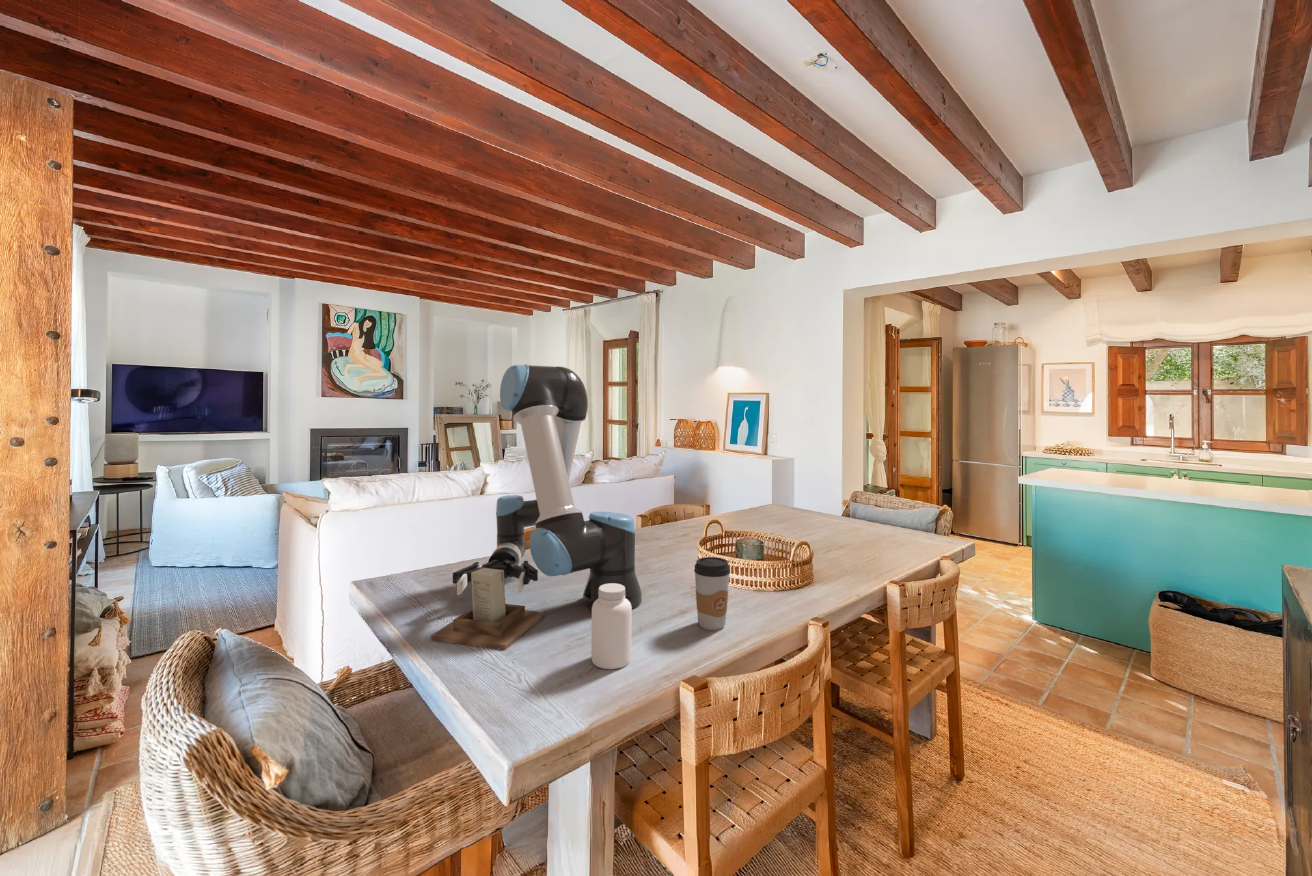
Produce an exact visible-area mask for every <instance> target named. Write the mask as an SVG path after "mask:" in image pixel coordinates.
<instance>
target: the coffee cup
mask: <svg viewBox="0 0 1312 876" xmlns="http://www.w3.org/2000/svg"><path fill="white" fill-rule="evenodd" d="M693 572H694V578H695V579H694V580H695V596H696V597H695V601H696V610H697V611H696V612H697V613H696V614H697V622H698V623H697V624H698V625H699V627H700V628H702V629H704V630H708V631H718V630H722V629H724V628H725V626H726V623H727V622H726V621H727V612H728V602H729V600H728V599H729V583H730V574H731V566H730V564H729V561H728V560H727V559H725V558H723V557H719V556H718V557H716V556H705V557H700V558H697V559H696V563H695V564H694V571H693Z"/></svg>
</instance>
